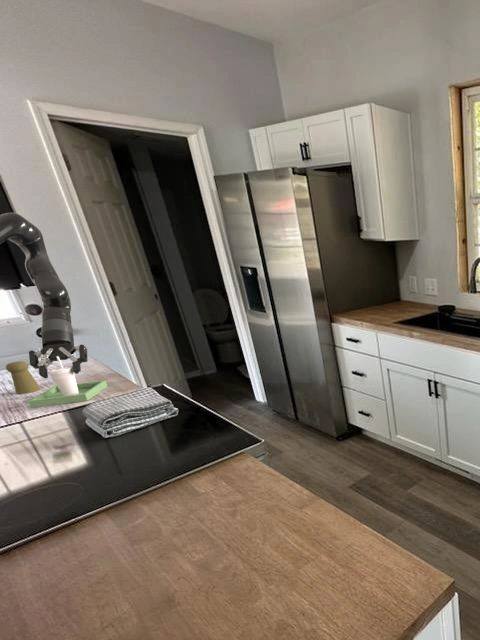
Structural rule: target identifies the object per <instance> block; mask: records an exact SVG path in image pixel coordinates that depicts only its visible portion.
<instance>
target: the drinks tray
mask: <svg viewBox="0 0 480 640" xmlns="http://www.w3.org/2000/svg"><path fill="white" fill-rule="evenodd" d="M77 387H78V391H79V394H77V395H69V396H64V395H63V394H62V392H61V391H60V389H59V388H58V386H57V385H56V386H52V387H50V388H48V389H47V390H45V391H43V392H42V393H40V394H38V395H37V396H34V397H33V398H31V399H29V400H28V401H27V403H28V404H29V407H30V408H32V409H34V408H41V407H49V406H55V405H65V404H72V403H78V402H87V401H89V400H91V399H92V398H94V397H95V396H96V395H98V394H100V393H101V392H102V391H104V390H105V389H106V388H108V387H109V386H108V384H107V381H106V380H98V381H89V382H79V383H77Z"/></svg>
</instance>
